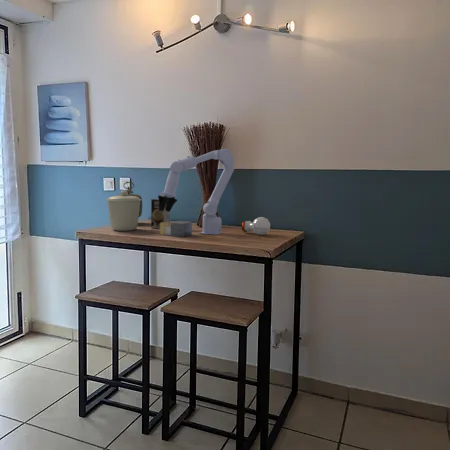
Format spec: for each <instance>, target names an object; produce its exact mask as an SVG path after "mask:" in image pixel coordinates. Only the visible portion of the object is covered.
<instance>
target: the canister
mask: <svg viewBox="0 0 450 450" xmlns="http://www.w3.org/2000/svg"><path fill="white" fill-rule="evenodd" d="M120 194H121V195H122V196H116V195H113V196H109V197H107V198H106V201H107V207H108V215H109V221H110V222H109V223H110V226H111V228H112V230H114V231H117V232H130V231H131V232H132V231H134V230H136V229H137V228H138V225H139V218H140V217H139V208H140V201H141V199H140V198H139V197H135V196H126V195H127V194H128V193H127V191H126V190H121V191H120Z"/></svg>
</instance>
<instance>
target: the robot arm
mask: <svg viewBox="0 0 450 450" xmlns="http://www.w3.org/2000/svg"><path fill="white" fill-rule="evenodd" d="M212 159H213V160H218V161H219V162H220V163H221V165H222V169H223V171H222V172H221V174H220V177H219V179H218V181H217V183H216V185H215V187H214V190H212V193H211V196H210V197H209V198H208V201H207V202H206V203H205V204H204V205H203V206H202V211H203V215H202V231H201V232H199V234H201V235H216V236H217V235H220V234H222V233H223V232H222V217H220V216H217V211H218V205H219V202H220V200H221V198H222V195H223V194H224V191H225V190H226V186H227V185H228V183H229V181H230V179H231V177H232V174H233V173H234V171H235V165H234V155H233V153H232V151H231V150H230V149H229V148H223V149H217V150H212V151H209V152H207V153H205V154H201V155H199V156H191V155H187V156H186V158H182V159H177V161H173V162H172V163H171V165H170V167H169V169H170V170H169V172H168V175H167V178H166V182H165V186H164V190H163V191H161V192H160V194H159V195H158V196H157V199H159V210H160V211H164V208H165V206H166V211H168V212H170V213H171V210H172V208H173V207H174V205H175V204H176V203H177V201H178V199H177V196H178V195H177V194H176V191H177V188H178V185H179V184H178V183H179V182H180V176H181V172H182V171H184V172H185V171H189V170H191V169H194V168H196V167H197V165H198V164H200V163H203V162H205V161H208V160H209V161H210V160H212Z"/></svg>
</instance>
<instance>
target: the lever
mask: <svg viewBox="0 0 450 450" xmlns="http://www.w3.org/2000/svg"><path fill="white" fill-rule="evenodd" d="M159 234H160V235H161V236H171V225H170V226H169V222H162V223H160V229H159Z"/></svg>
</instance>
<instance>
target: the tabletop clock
mask: <svg viewBox="0 0 450 450" xmlns="http://www.w3.org/2000/svg"><path fill="white" fill-rule="evenodd" d="M126 184H132V185H133V186H132V187H130V186H127V187H125V185H126ZM134 187H135V184H134V182H132V181H126V182H124V183H123V188H124V189H125V191H127V195H126V196H135V197H139V198H140V199H141V201H140V208H139V218H141V217H142V214H143V200H142V195H140V194H135V193H134V191H133V190H132V189H134ZM115 196H122V195H121V193H120V194H117V195H115Z"/></svg>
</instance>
